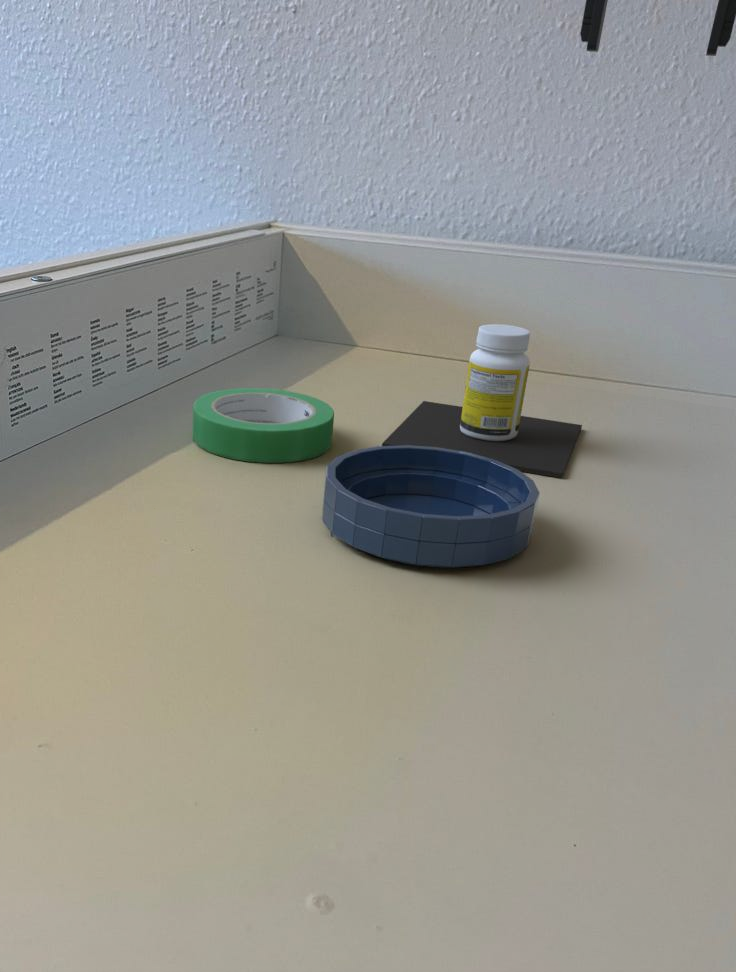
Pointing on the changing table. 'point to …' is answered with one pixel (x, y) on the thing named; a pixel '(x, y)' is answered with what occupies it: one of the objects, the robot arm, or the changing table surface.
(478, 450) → the mat
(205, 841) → the changing table surface
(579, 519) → the changing table surface
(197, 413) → the tape roll
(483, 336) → the supplement bottle
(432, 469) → the dish
